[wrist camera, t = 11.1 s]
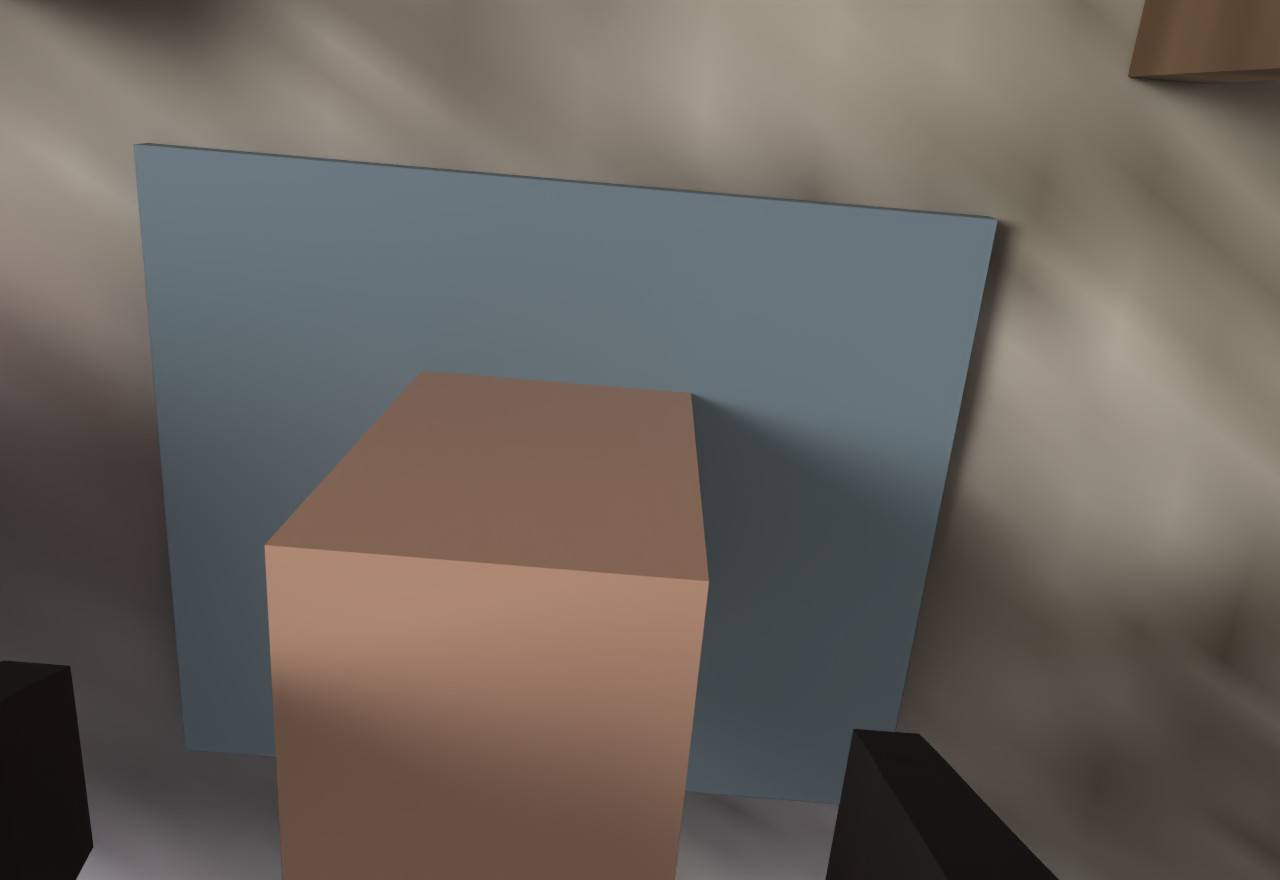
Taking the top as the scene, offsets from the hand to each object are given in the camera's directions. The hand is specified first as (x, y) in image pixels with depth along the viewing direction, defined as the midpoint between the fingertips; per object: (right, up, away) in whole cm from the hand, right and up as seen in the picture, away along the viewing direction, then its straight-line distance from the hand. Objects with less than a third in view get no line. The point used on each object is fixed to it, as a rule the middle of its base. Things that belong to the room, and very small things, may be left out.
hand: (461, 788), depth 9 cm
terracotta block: (0, +2, +6) cm, 6 cm away
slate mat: (0, +2, +6) cm, 7 cm away
